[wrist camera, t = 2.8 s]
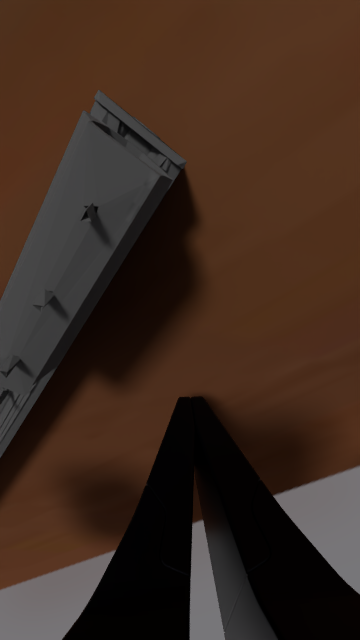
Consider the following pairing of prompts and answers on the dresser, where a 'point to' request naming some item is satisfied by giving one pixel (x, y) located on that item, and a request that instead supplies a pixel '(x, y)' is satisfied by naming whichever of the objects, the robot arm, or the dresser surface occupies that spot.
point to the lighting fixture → (77, 248)
